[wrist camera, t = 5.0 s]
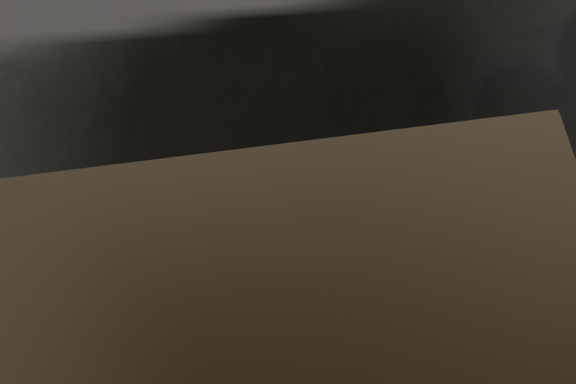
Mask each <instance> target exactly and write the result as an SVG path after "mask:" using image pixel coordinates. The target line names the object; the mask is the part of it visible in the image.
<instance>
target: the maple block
mask: <svg viewBox="0 0 576 384" xmlns="http://www.w3.org/2000/svg"><path fill="white" fill-rule="evenodd" d="M0 384H576V159H575V156H574V154H573V151H572V148H571V145H570V142H569V139H568V136H567V133H566V131H565V128H564V125H563V122H562V119H561V116H560V113H559V110H558V109H557V110H549V111H541V112H533V113H525V114H517V115H509V116H501V117H493V118H485V119H476V120H468V121H460V122H452V123H444V124H436V125H428V126H420V127H412V128H404V129H396V130H388V131H380V132H372V133H364V134H356V135H347V136H339V137H331V138H323V139H315V140H307V141H299V142H291V143H283V144H275V145H267V146H259V147H251V148H243V149H235V150H226V151H218V152H210V153H202V154H194V155H186V156H178V157H170V158H162V159H154V160H146V161H138V162H130V163H122V164H114V165H106V166H97V167H89V168H81V169H73V170H65V171H57V172H49V173H41V174H33V175H25V176H17V177H9V178H1V179H0Z"/></svg>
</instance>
